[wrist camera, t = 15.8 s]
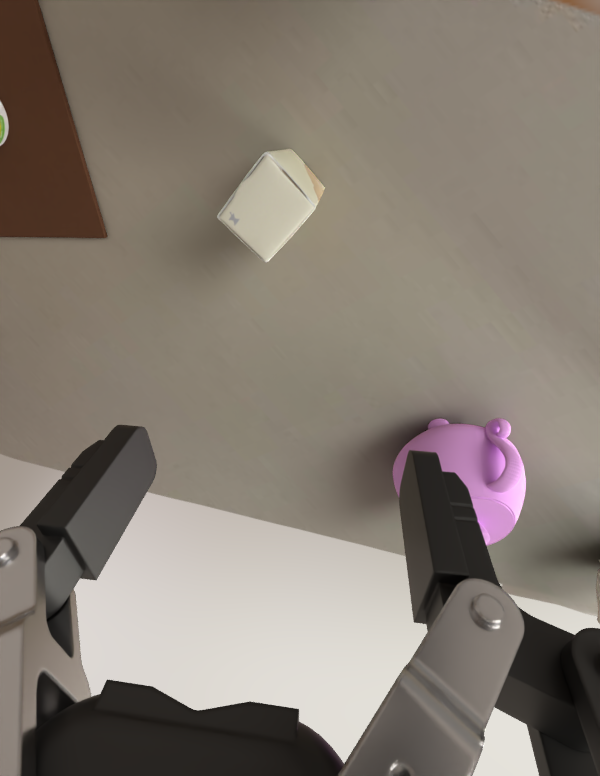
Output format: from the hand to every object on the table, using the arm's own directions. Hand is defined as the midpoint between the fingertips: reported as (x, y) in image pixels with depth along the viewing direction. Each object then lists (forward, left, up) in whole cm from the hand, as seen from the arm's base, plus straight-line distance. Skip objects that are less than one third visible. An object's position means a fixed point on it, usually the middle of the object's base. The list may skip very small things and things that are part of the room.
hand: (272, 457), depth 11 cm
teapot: (+26, +16, -28) cm, 41 cm away
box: (-4, -3, -28) cm, 28 cm away
